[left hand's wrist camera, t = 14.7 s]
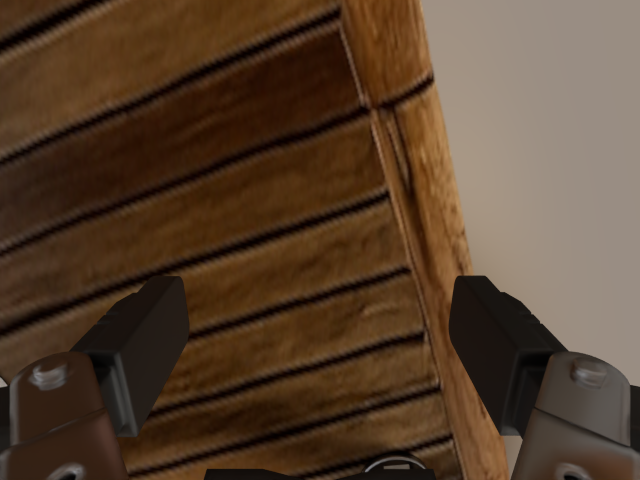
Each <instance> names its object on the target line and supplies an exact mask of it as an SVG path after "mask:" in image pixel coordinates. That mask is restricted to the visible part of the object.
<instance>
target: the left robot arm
mask: <svg viewBox="0 0 640 480" xmlns="http://www.w3.org/2000/svg"><path fill="white" fill-rule="evenodd" d="M449 335H450V340H451V343H452V345H453V347H454V349H455V350H456V352H457V354H458V356H459V358H460V360H461V362H462V364H463V366H464V368H465V369H466V371H467V373H468V375H469V377H470V379H471V381H472V383H473V385H474V387H475V388H476V390H477V392H478V394H479V396H480V398H481V400H482V402H483V404H484V406H485V407H486V409H487V411H488V413H489V415H490V417H491V419H492V421H493V423H494V424H495V426H496V428H497V430H498V432H499V434H500V436H506V435H507V436H509V435H510V436H511V435H512V436H513V435H515V436H516V435H517V436H518V435H519V436H521V438H522V439H523V441H522V445H521V448H520V451H519V454H518V458H517V461H516V464H515V467H514V470H513V473H512V477H511V480H640V387H638V386H633V385H630V384H629V382H628V380H627V378H626V377H625V376H624V375H623V374H622V373H621V372H620V371H619V370H618V369H616V368H615V367H613V366H612V365H610V364H608V363H607V362H605V361H603V360H600V359H598V358H596V357H593V356H590V355H587V354H583V353H578V352H570V351H568V350H567V349H566V348H565V347H564V346H563V345H562V344H561V343H560V342H559V341H558V340H557V338H556V337H555V336H554V335H553V334H552V333H551V332H550V331H549V330H548V329H547V328H546V327H545V326H544V325H543V324H540V321H539V320H538V319H537V318H536V317H535V316H534V315H533V314H531V312H530V310H528V308H527V307H526V306H525V305H524V304H523V303H522V302H521V301H519V300H517V299H516V298H514V297H512V296H510V295H509V294H507V293H505V292H500V291H499V290H498V289H497V288H496V287H495V286H494V284H493V283H492V282H491V281H490V280H489V279H488V278H487V277H486V276H457V278H456V280H455V283H454V289H453V297H452V304H451V311H450V318H449ZM188 336H189V318H188V311H187V304H186V297H185V290H184V284H183V280H182V278H181V277H180V276H153V277H151V278H150V279H149V280H148V281H147V282H146V284H145V285H144V286H143V287H142V288H141V289H140V290H139V291H138V292H137V293H132V294H130V295H128V296H127V297H125V298H123V299H121V300H120V301H118V302H116V303H115V304H114V305H113V306H112V308H111V309H110V310H109V311H108V312H107V313H106V315H104V316H103V317H102V318H101V319H100V320H99V321H98V322H97V325H94V326H93V327H92V328H91V329H90V330H89V331H88V332H87V333H86V334H85V335H84V336H83V337H82V338H81V339H80V340H79V341H78V342H77V343H76V344H75V346H74V347H73V348H72V349H71V350H70V351H69V352H62V353H57V354H53V355H50V356H47V357H44V358H42V359H39V360H37V361H35V362H33V363H32V364H30V365H28V366H27V367H25V368H24V369H22V370H21V371H20V372H19V373H18V374H17V375H16V376H15V377H14V378H13V380H12V382H11V384H10V385H9V386H5V387H0V480H129V477H128V473H127V470H126V467H125V464H124V461H123V457H122V454H121V451H120V448H119V445H118V441H117V438H116V437H137V435H138V434H139V432H140V430H141V428H142V426H143V424H144V422H145V420H146V419H147V417H148V415H149V413H150V411H151V409H152V407H153V405H154V404H155V402H156V400H157V398H158V396H159V394H160V392H161V390H162V389H163V387H164V385H165V383H166V381H167V379H168V377H169V375H170V374H171V372H172V370H173V368H174V366H175V364H176V362H177V360H178V359H179V357H180V355H181V353H182V351H183V349H184V347H185V345H186V343H187V340H188ZM204 480H304V479H300V478H296V477H292V476H288V475H284V474H280V473H277V472H273V471H269V470H265V469H207V471H206V474H205V477H204ZM336 480H436V477H435V474H434V471H433V469H427V467H426V466H425V464H424V463H423V462H422V461H421V460H419V459H418V458H416V457H414V456H411V455H408V454H402V453H392V454H386V455H382V456H380V457H377V458H375V459H374V460H372V461H371V462H369V463H368V464H367V465H366V466H365V467H364V469H363V471H362V473H360V474H356V475H352V476H348V477H344V478H340V479H336Z"/></svg>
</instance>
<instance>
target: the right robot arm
mask: <svg viewBox="0 0 640 480" xmlns="http://www.w3.org/2000/svg"><path fill="white" fill-rule="evenodd" d="M5 386H7V384H6V383H5V382H4V381H3V380H2V378H1V377H0V387H5Z"/></svg>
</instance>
